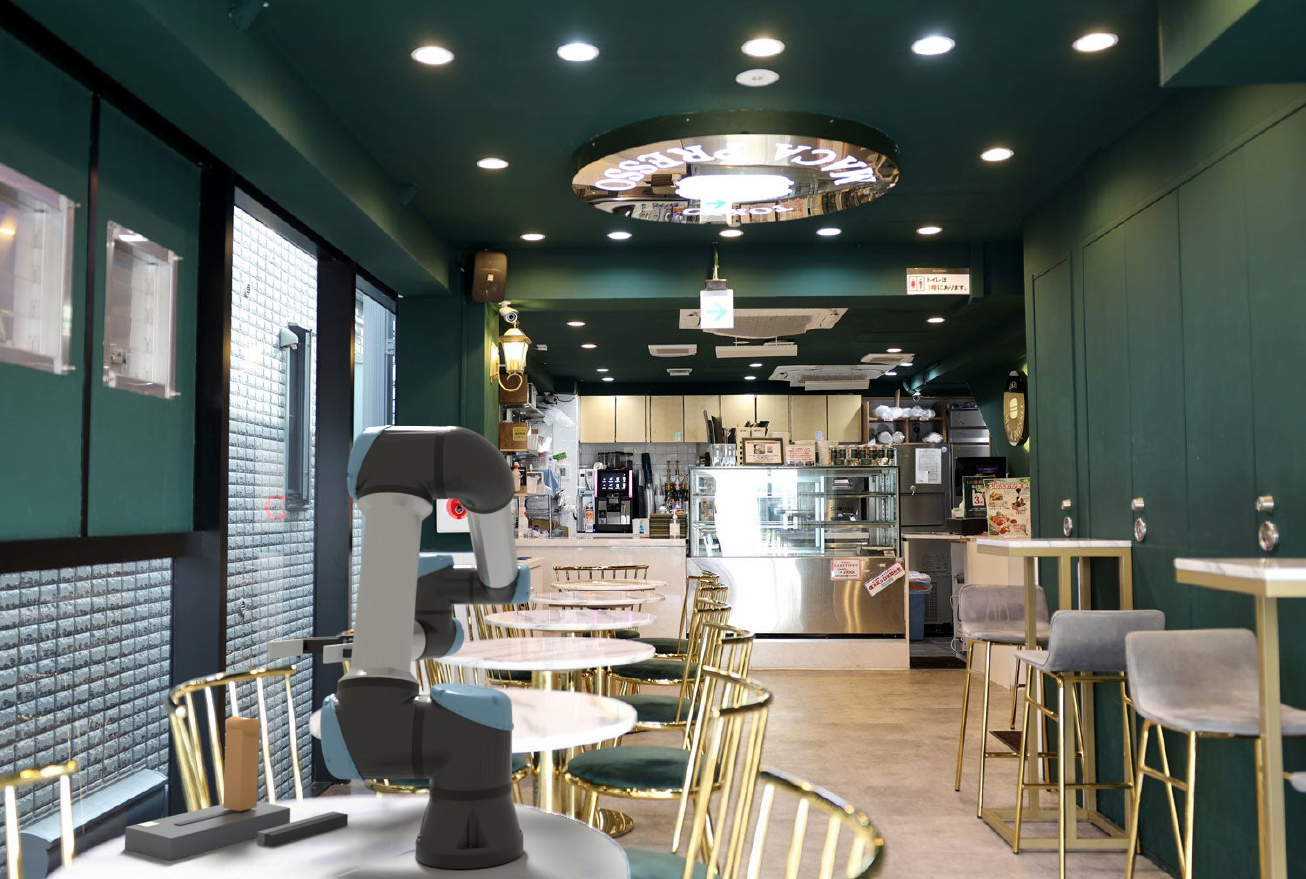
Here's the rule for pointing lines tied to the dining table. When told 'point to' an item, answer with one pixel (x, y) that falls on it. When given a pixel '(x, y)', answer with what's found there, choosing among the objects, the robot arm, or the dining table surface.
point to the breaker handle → (241, 763)
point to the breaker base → (202, 830)
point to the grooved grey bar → (302, 828)
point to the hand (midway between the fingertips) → (296, 652)
